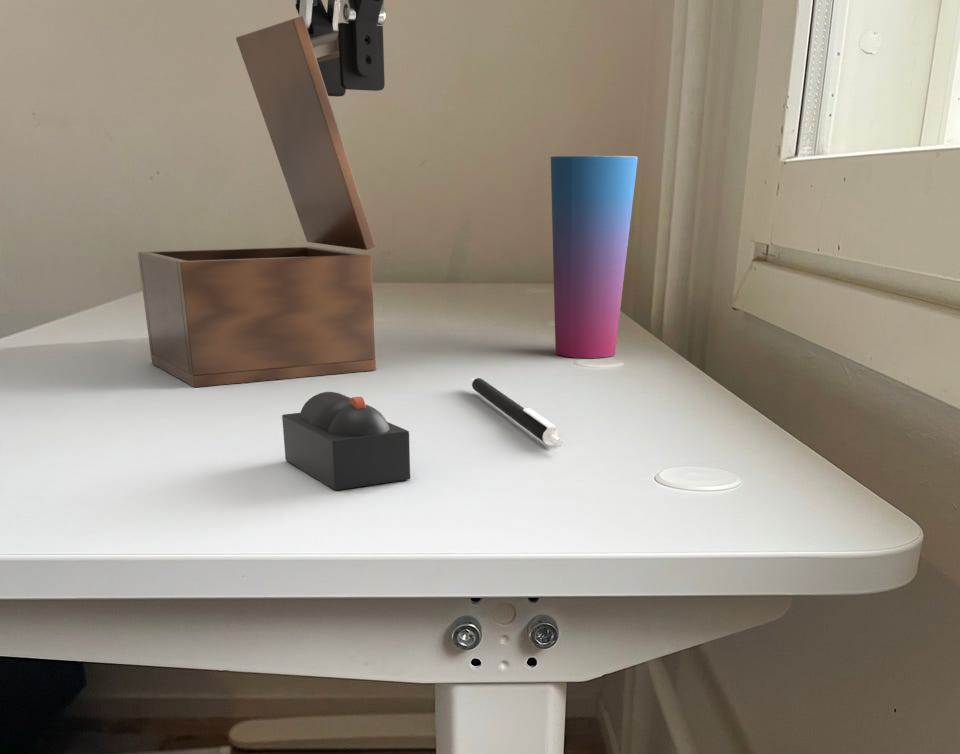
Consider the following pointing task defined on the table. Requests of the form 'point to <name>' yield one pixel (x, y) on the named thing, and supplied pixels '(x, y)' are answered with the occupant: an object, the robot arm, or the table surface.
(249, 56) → the lid
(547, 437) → the pen
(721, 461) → the table surface
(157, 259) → the chest
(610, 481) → the table surface
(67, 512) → the table surface
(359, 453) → the domed black block
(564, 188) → the cup
